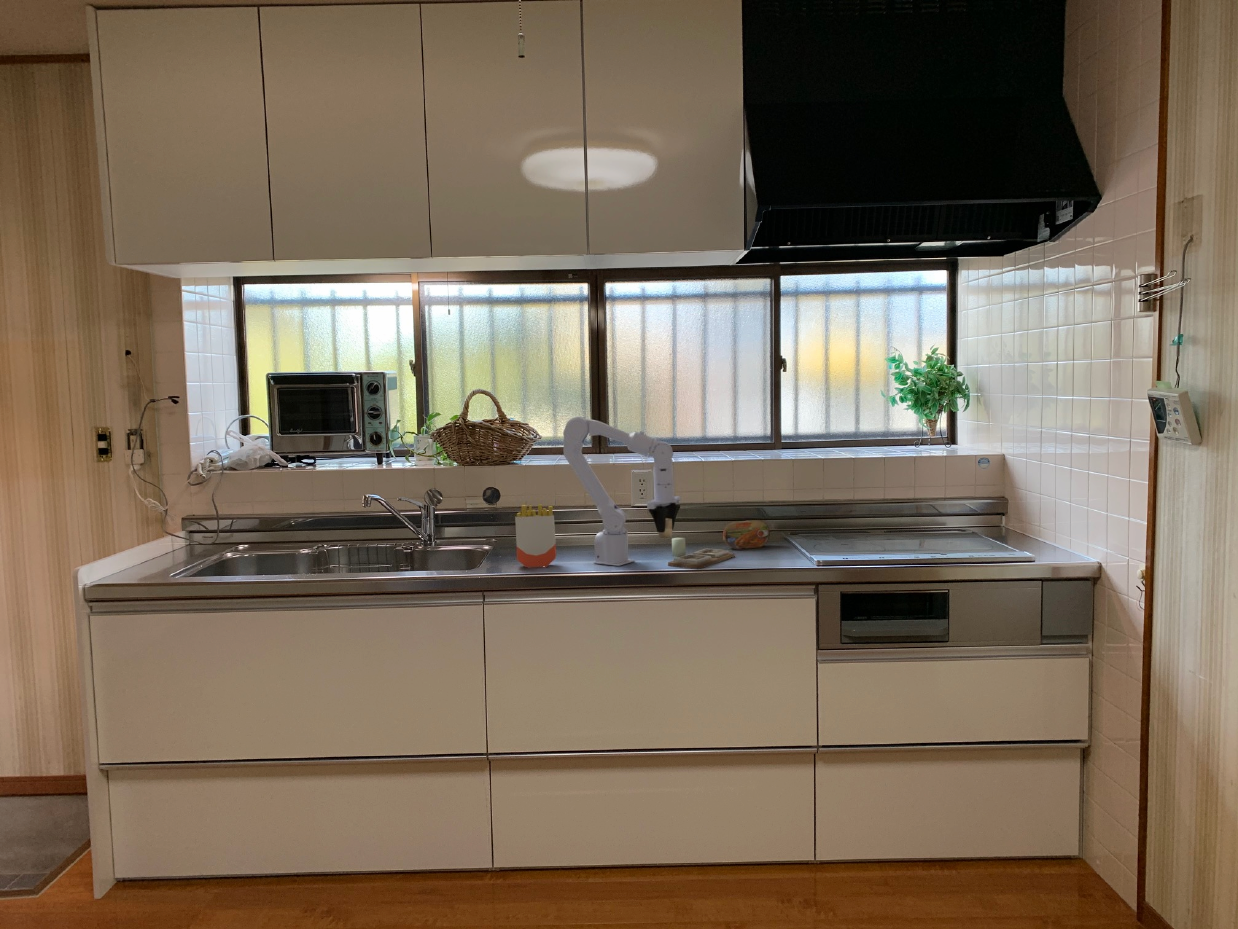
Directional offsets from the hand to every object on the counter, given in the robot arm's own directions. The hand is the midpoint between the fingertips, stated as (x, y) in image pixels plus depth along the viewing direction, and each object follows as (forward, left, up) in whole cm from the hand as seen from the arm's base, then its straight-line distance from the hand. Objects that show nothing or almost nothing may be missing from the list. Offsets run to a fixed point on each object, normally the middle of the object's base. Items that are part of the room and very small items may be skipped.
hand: (665, 531), depth 239 cm
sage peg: (-2, +10, -9) cm, 14 cm away
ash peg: (0, 0, -2) cm, 2 cm away
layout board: (+9, +5, -9) cm, 14 cm away
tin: (+10, +30, -9) cm, 33 cm away
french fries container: (-30, -22, -9) cm, 38 cm away
